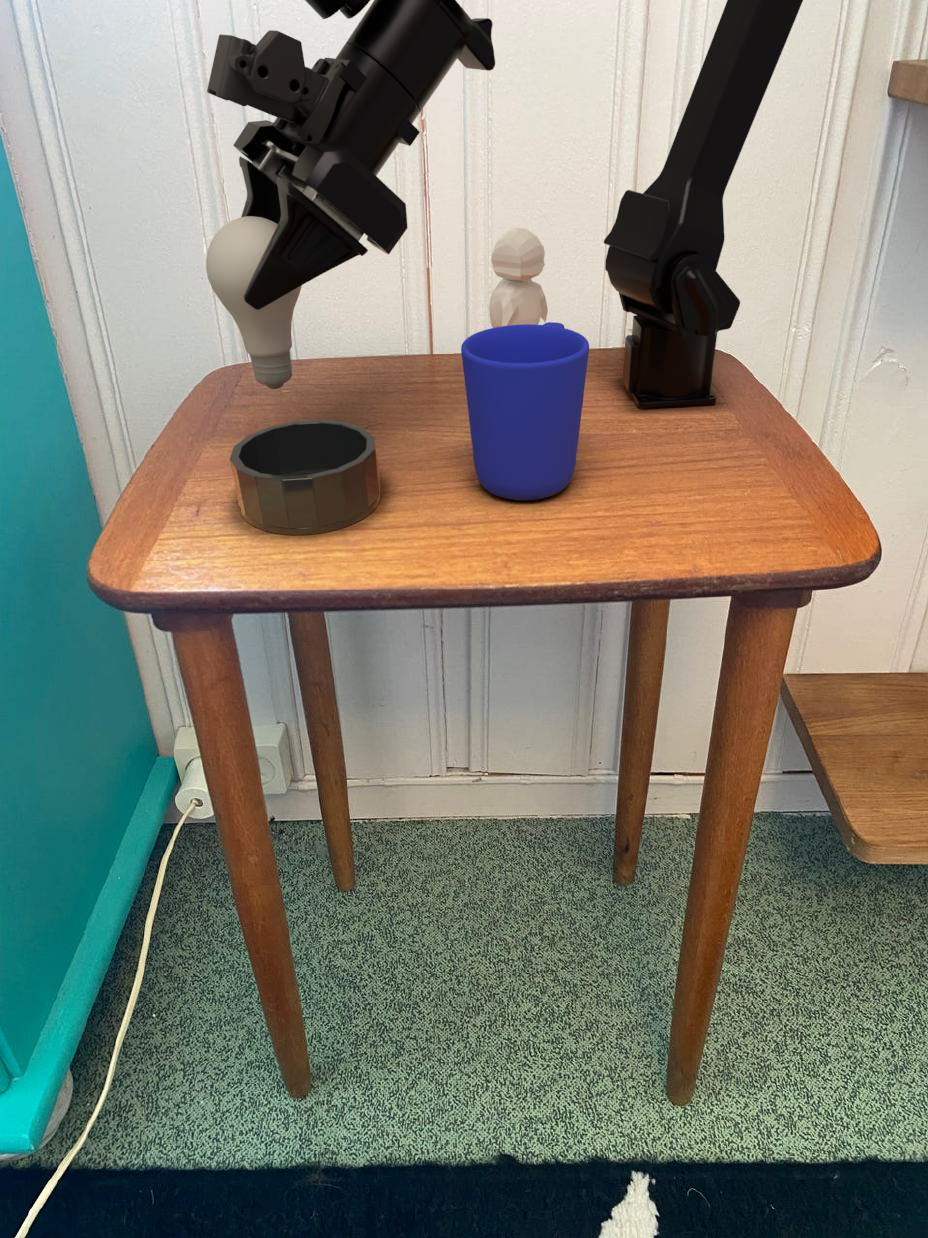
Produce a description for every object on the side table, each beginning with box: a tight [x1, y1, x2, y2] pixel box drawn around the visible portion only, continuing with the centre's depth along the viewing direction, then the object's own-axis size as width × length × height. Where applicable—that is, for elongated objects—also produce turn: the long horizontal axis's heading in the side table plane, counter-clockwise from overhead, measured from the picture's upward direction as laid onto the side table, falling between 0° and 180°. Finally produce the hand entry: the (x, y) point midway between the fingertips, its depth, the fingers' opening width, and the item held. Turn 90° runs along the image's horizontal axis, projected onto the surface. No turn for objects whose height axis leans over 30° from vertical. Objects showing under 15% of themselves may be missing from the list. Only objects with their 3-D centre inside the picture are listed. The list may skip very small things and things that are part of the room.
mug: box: [460, 321, 590, 501], centre depth 63 cm, size 8×12×10 cm
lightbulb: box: [205, 216, 303, 390], centre depth 60 cm, size 6×6×11 cm
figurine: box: [488, 227, 549, 328], centre depth 81 cm, size 8×5×12 cm, turn 146°
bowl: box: [229, 419, 381, 536], centre depth 62 cm, size 10×10×4 cm
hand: (238, 292), depth 59 cm, fingers closed on lightbulb, 6 cm apart
